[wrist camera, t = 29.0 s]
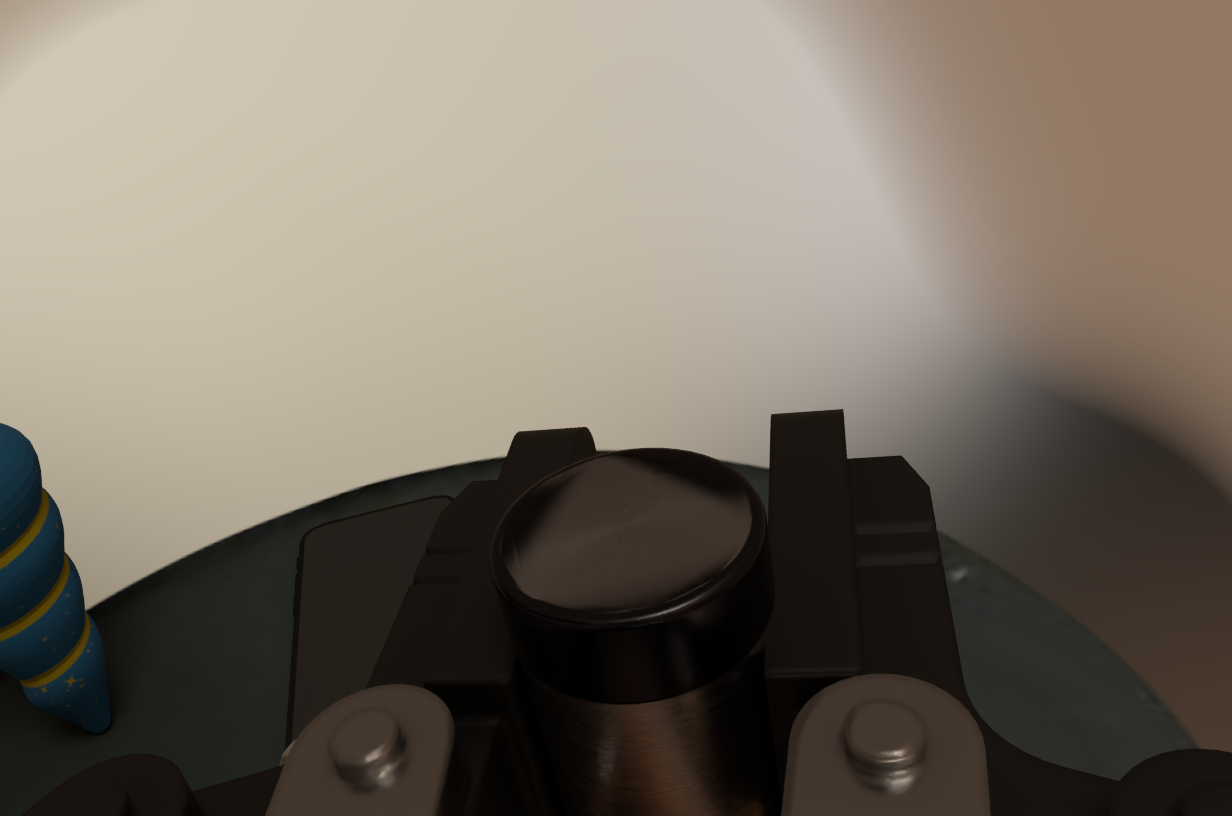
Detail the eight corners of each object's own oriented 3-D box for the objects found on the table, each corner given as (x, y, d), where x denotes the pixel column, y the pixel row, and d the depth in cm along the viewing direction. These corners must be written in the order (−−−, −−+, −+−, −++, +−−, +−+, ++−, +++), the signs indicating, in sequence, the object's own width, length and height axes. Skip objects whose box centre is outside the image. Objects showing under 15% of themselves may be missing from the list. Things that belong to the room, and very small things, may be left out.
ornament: (163, 661, 45) (-8, 345, 37) (179, 744, 41) (-9, 409, 33) (31, 718, 43) (-177, 401, 35) (34, 811, 39) (-200, 475, 31)
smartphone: (276, 796, 37) (297, 527, 49) (285, 814, 37) (304, 543, 50) (491, 738, 37) (457, 487, 50) (497, 756, 38) (462, 503, 50)
